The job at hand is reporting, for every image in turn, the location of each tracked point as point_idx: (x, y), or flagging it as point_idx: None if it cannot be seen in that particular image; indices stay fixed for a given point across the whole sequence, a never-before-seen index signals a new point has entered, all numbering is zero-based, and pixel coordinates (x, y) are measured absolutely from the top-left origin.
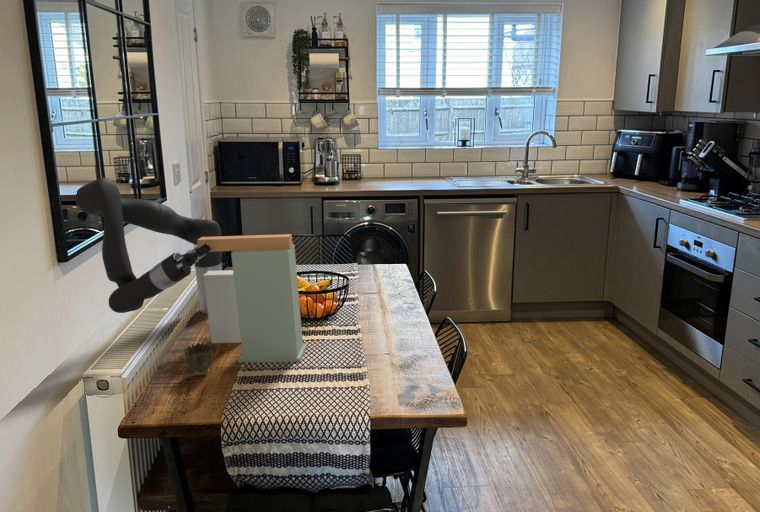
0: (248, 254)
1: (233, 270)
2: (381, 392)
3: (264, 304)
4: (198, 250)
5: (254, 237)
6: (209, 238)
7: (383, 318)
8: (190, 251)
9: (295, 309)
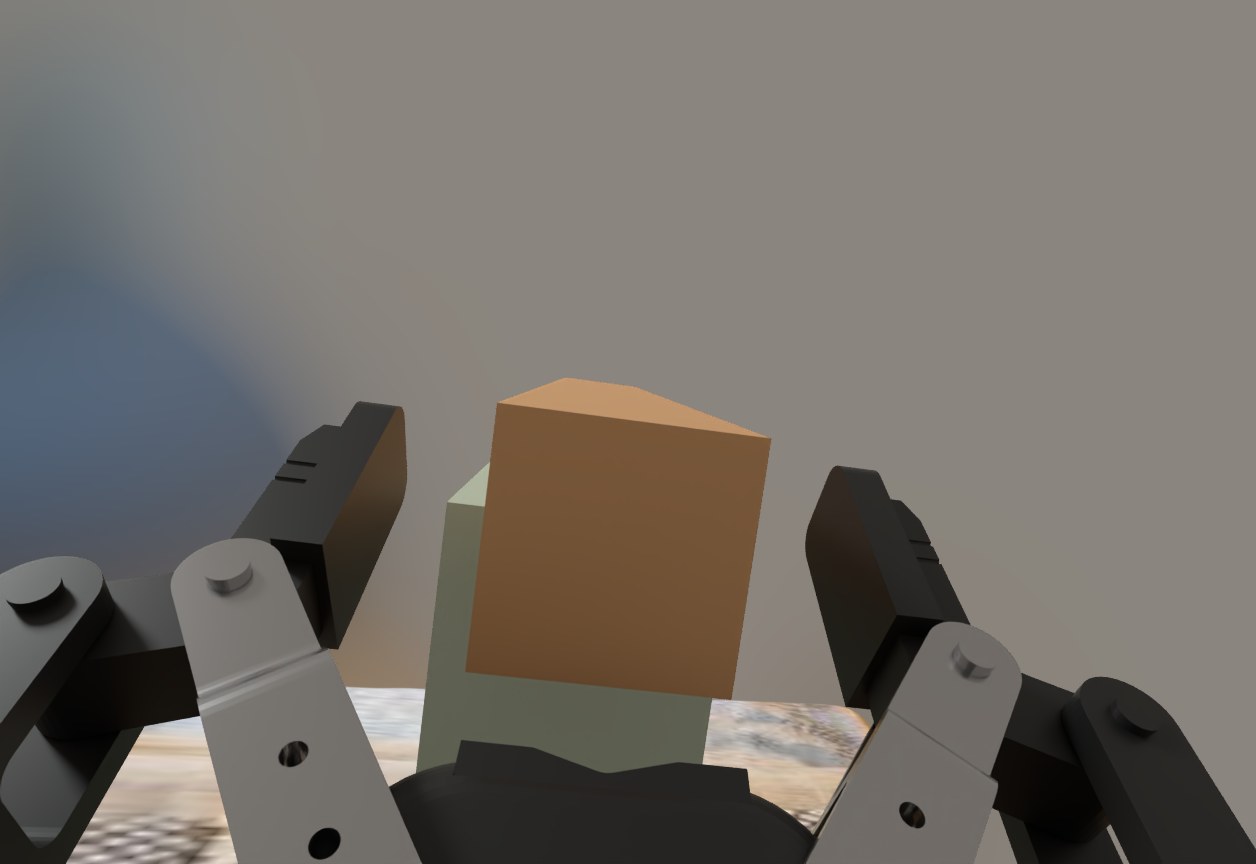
0: None
1: (709, 707)
2: (809, 790)
3: None
4: (955, 600)
5: (635, 391)
6: (655, 411)
7: (202, 752)
8: (922, 734)
9: None
